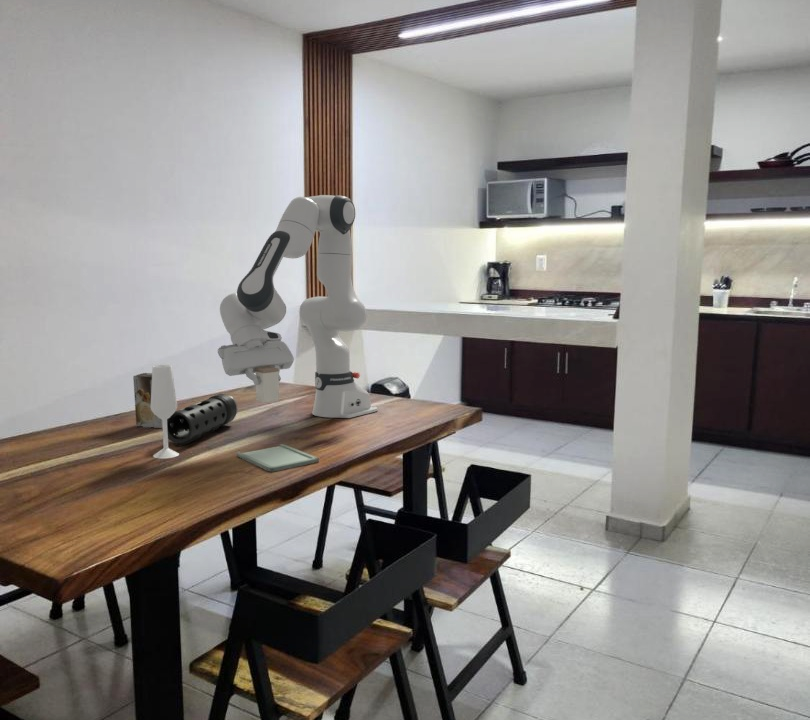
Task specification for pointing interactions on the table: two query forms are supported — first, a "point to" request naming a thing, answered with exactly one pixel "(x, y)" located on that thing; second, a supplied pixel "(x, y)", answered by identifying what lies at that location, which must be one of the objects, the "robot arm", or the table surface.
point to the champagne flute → (163, 403)
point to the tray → (278, 458)
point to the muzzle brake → (201, 418)
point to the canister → (267, 384)
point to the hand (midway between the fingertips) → (268, 382)
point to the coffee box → (144, 402)
